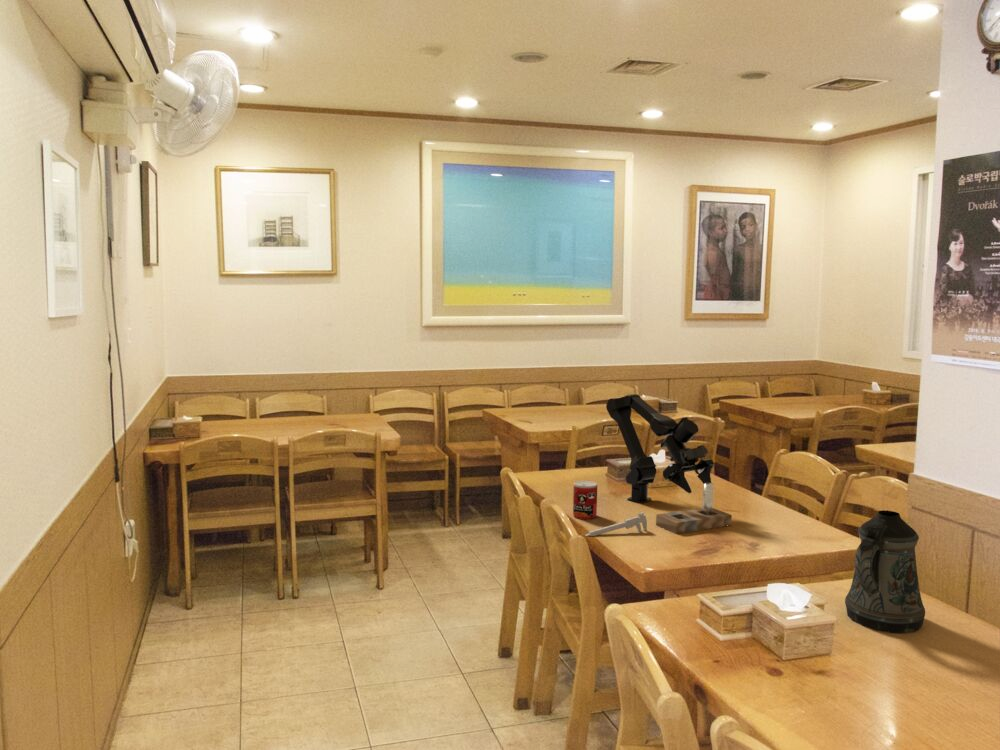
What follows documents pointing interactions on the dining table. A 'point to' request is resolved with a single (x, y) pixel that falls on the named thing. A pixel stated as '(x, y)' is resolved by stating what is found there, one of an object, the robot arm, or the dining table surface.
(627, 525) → the caliper
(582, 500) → the canned food
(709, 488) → the drill rod
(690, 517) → the tool block
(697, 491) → the dining table surface
